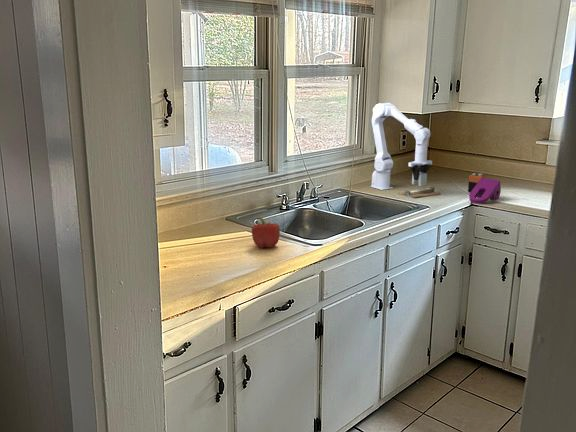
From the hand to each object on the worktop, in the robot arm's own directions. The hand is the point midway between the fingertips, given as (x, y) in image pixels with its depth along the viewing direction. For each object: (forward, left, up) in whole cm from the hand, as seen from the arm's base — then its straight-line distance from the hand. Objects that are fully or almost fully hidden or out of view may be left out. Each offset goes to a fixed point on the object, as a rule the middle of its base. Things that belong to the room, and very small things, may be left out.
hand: (419, 179), depth 294 cm
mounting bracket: (+25, +19, -8) cm, 32 cm away
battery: (+12, +29, -8) cm, 32 cm away
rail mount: (0, +1, -8) cm, 8 cm away
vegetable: (+32, -109, -8) cm, 114 cm away
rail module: (0, 0, -2) cm, 2 cm away
